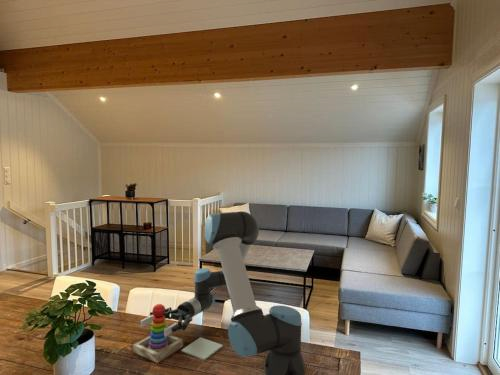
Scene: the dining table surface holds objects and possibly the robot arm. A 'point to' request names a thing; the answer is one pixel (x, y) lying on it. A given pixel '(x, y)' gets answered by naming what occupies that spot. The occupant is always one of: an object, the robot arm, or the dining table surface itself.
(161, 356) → the birch holder
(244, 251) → the robot arm
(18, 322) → the dining table surface
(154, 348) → the stacking toy
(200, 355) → the sage mat
